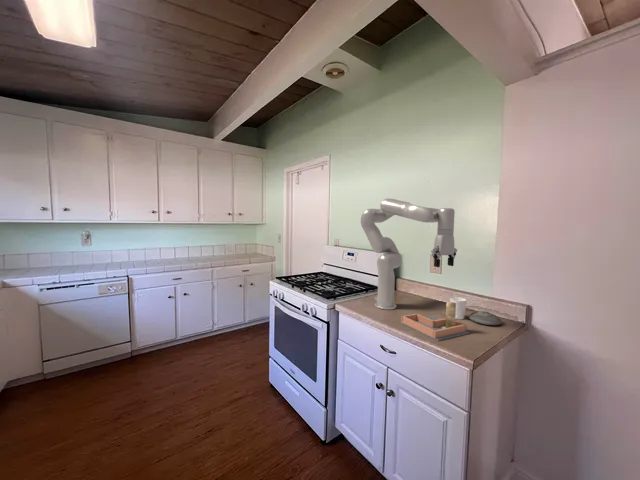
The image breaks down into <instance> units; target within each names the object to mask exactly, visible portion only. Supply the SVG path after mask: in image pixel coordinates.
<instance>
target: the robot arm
mask: <svg viewBox="0 0 640 480" xmlns="http://www.w3.org/2000/svg"><path fill="white" fill-rule="evenodd" d="M379 206H380V208H367V209H366V210H364V211H363V212H362V213H361V216H360V225H361V228H362V229H363V231H364V233H365V235H366V238H367V240H368V242H369V243H370V244H369V245H370V246H371V249H372V250H373V252H374V253H376V254H381V255H379V257H378V258H377V261H376V267H377V274H378V275H377V277H378V278H377V296H375V297H374V300H376V302H375V303H374V306H375V308H377V309H380V310H381V309H382V310H387V311H388V310H389V311H390V310H394V309H397V304H396V303H395V281H396V280H395V272H394V269H397V268H399V267H401V265H402V264H403V263H402V262H403V259H402V256H401V254H400V251H399V249H398V248H397V246H396V243H395V241H393V239H392V238H391V237H387V236H383V234H382V233H381V230H380V229H379V227H378V226H377V225H376V223H378V224H380V223H384V222H386V221H387V220H389V219H390V218H392V217H393V216H397V217H402V218H406V219H409V220H413V221H417V222H421V223H437V233H436V235H435V239H434V245H433V249H431V250H430V252H431V256H432V257H433V267H436V268H441V259H440V258H441V257H442V256H447V266H450V267H454V264H455V263H454V262H455V261H454V260H455V258H456V255H457V252H458V248H456V247H455V236H454V233H455V232H454V231H455V211H456V210H455V209H454V208H452V207H451V208H450V207H445V208H444V207H442V208H435V207H434V208H433V207H425V206H420V205H416V204H412V203H410V202H408V201H404V200H398V199H395V198H384V199H382V200H381V202H380V205H379Z"/></svg>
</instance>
